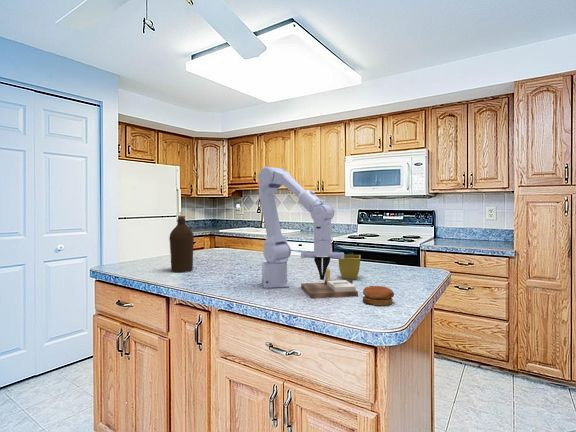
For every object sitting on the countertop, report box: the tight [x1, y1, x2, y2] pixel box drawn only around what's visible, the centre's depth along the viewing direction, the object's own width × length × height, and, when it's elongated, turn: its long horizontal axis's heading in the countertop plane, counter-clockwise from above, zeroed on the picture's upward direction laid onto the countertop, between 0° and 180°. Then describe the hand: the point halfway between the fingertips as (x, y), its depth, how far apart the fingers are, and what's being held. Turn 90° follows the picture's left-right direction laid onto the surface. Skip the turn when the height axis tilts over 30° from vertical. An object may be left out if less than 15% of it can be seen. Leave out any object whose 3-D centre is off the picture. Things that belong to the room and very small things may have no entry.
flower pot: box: [337, 254, 361, 280], centre depth 147 cm, size 9×9×9 cm
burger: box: [362, 285, 395, 307], centre depth 111 cm, size 10×9×5 cm
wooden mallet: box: [324, 267, 354, 285], centre depth 130 cm, size 4×10×5 cm, turn 87°
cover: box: [327, 279, 357, 292], centre depth 123 cm, size 7×10×2 cm
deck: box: [300, 282, 359, 299], centre depth 124 cm, size 16×15×2 cm
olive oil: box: [168, 215, 195, 273], centre depth 163 cm, size 11×11×25 cm
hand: (322, 279), depth 122 cm, fingers closed
